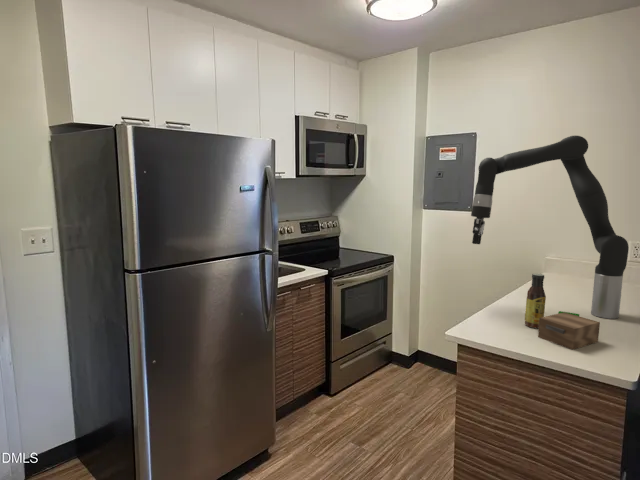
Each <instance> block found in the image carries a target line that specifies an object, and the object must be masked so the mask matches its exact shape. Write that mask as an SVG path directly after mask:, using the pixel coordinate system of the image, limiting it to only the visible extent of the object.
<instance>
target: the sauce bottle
mask: <svg viewBox="0 0 640 480" xmlns="http://www.w3.org/2000/svg"><path fill="white" fill-rule="evenodd" d="M531 278H532V279H531V285H530V287H529V289H527V295H526V301H525V302H526V303H525V310H524V311H525V313H524V325H525V326H526V327H529V328H532V329H533V328H534V329H539V319H540V318H541V317H545V310H546V309H545V307H546V299H547V296H546V293H545V292H546V291H545V290H544V289H545V288H544V280H545V274H541V273H532V275H531Z"/></svg>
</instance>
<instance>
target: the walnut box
mask: <svg viewBox="0 0 640 480" xmlns="http://www.w3.org/2000/svg"><path fill="white" fill-rule="evenodd" d="M562 312H563V313H559V314H558V313H555V314H551V315H547V316H544V317H541V318H540V319H539V328H538V333H537V334H538V335H537V338H539V339H543V340H545V341H547V342H551V343H553V344H556V345H559V346H562V347H564V348H566V349H570V350H576V349H579V348H583V347H586V346H589V345H592V344H597V343H599V335H600V327H601V326H600V325H601V323H600V321H597V320H594V319H590V318H586V317H583V316H581V315H579V316H576V315H573V314H569V313H570V312H569V313H566V312H567V311H562Z"/></svg>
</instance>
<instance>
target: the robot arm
mask: <svg viewBox="0 0 640 480" xmlns="http://www.w3.org/2000/svg"><path fill="white" fill-rule="evenodd" d="M588 149H589V142H588V140H587V139H586V138H585V137H583V136H581V135H570V136H567V137H565V138H563V139H561V140H560V141H559V140H558V141H556V142H554V143H551V144H547V145H544V146H539V147H535V148H530V149H523V150H519V151H515V152H510V153H506V154H504V155H503V156H500V157H497V158H493V157H486V158H484V159H482V160H481V161H480V163H479V165H478V177H477V182H476V185H475V191H474V197H473V199H472V207H471V213H470V216H471V217H473V218H474V220H473V226H472V231H471V232H472V235H473V236H472V240H471V241H472V242H471V243H472V244H473V245H481V243H482V241H481V240H482V236H483V234H484V232H485V231H484V230H485V225H486V222H485V219H490V218H491V215H492V213H491V212H492V205H493V195H494V190H495V188H494V186H495V180H496V175H499V174H503V173H505V172H509V171H515V170H520V169H524V168H528V167H532V166H535V165H539V164H542V163H547V162H551V161H557V160H560V161H561V163H562V165H563V167H564V169H565V170H566V173H567V175H568V178H569V181H570V183H571V187H572V190H573V192H574V195H575V198H576V200H577V203H578V205H579V207H580V209H581V212H582V214H583V216H584V218H585V221H586V223H587V224H588V226H589V229H590V233H591V234H590V235H591V238H592V241H593V244H594V248H595V250H596V251H597V253H599V261H598V264H597V265H595V267H594V268H595V269H594V276H593V277H594V278H593V287H592V300H591V308H590V309H591V310H590V314H591V315H592V316H595V317H598V318H603V319H609V320H610V319H611V320H615V319H619V316H620V309H621V300H622V299H621V298H622V289H623V280H624V279H623V278H624V272H625V270H626V268H627V264H628V257H629V251H630V250H629V242H628V240H627V239H625V237H623V236H621V235H619V234H618V235H617V233H616V232H615V230H614V229H613V226H612V224H611V222H610V218H609V205H608V203H609V202H608V200H607V196H606V194H605V192H604V189H603V186H602V185H601V182H600V181H599V180H598V178H597V177H596V175H594V173H593V172H592V171H591V170H590V168H589V166H588V164H587V162H586V157H585V154H586V153H587V151H588Z"/></svg>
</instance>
